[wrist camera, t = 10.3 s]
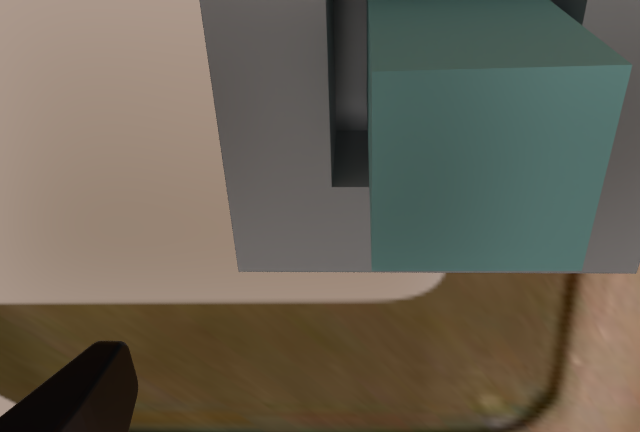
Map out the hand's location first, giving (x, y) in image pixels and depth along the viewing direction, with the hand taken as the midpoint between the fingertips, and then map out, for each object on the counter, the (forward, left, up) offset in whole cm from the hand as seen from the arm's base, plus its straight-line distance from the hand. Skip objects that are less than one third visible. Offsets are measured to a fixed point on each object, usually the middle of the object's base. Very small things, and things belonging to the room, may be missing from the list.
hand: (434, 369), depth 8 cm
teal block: (+1, -1, -12) cm, 12 cm away
